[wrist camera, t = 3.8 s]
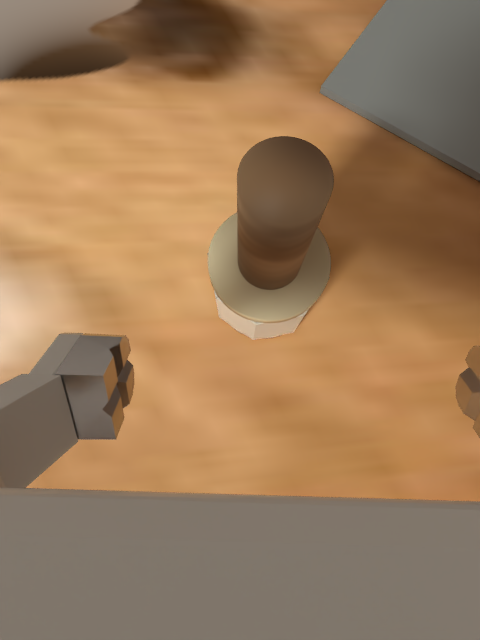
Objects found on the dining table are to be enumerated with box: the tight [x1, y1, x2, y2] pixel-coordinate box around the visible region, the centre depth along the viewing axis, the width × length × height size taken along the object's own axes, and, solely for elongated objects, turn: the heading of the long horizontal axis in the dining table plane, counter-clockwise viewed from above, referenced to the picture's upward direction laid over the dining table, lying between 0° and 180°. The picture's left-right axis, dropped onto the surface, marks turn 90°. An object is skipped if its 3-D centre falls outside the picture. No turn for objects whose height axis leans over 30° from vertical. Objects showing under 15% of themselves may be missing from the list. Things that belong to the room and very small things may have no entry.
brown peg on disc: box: [208, 136, 334, 323], centre depth 17 cm, size 6×6×8 cm
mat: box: [320, 0, 480, 181], centre depth 29 cm, size 18×14×1 cm
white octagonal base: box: [214, 279, 329, 340], centre depth 23 cm, size 6×6×4 cm
